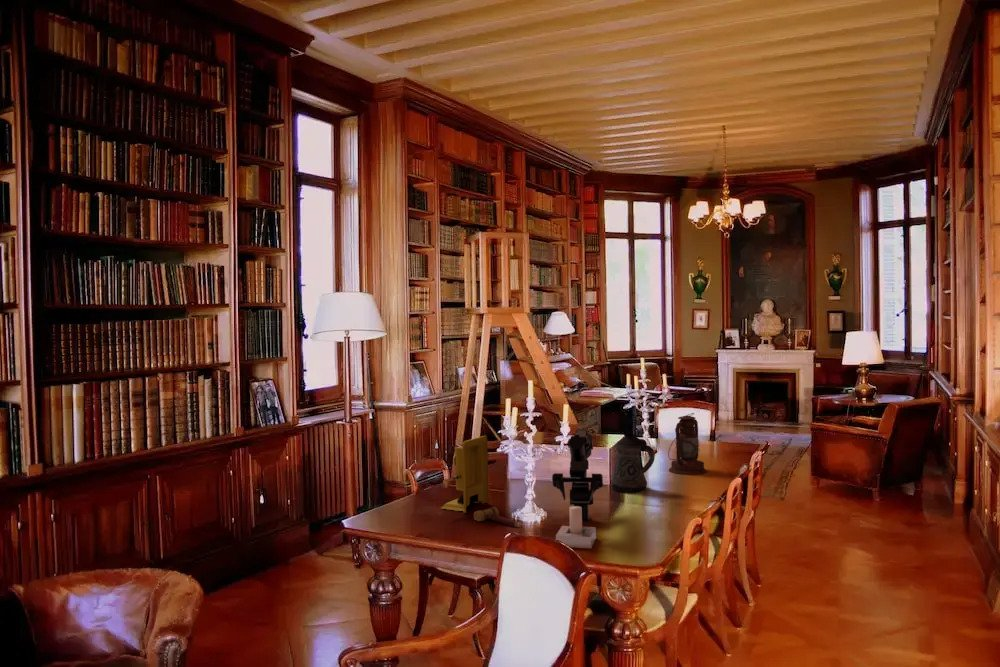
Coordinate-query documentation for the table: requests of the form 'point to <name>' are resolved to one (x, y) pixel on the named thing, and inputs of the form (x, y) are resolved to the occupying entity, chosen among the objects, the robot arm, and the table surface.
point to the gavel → (493, 517)
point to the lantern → (687, 448)
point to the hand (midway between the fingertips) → (577, 500)
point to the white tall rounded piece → (575, 520)
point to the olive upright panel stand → (470, 474)
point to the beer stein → (631, 465)
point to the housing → (577, 537)
